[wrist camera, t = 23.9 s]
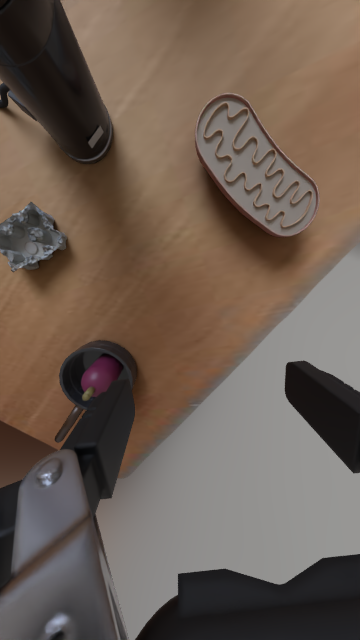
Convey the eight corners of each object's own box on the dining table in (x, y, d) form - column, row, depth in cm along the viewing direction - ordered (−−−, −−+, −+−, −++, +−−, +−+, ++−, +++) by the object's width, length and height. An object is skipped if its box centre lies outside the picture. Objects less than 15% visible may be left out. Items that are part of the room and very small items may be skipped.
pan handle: (64, 438, 40) (59, 445, 39) (56, 434, 40) (51, 442, 38) (88, 401, 38) (84, 407, 37) (81, 397, 38) (76, 403, 36)
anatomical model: (308, 212, 32) (331, 201, 27) (268, 255, 34) (283, 252, 29) (218, 108, 28) (226, 74, 24) (178, 163, 30) (178, 141, 25)
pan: (61, 377, 39) (46, 389, 35) (91, 327, 37) (80, 333, 32) (116, 407, 41) (109, 423, 37) (149, 362, 39) (146, 373, 34)
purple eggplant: (90, 362, 38) (57, 394, 27) (112, 348, 37) (86, 376, 27) (107, 381, 39) (82, 420, 29) (128, 368, 39) (110, 403, 28)
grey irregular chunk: (29, 275, 34) (10, 274, 30) (2, 238, 32) (-22, 232, 28) (74, 246, 33) (60, 242, 29) (48, 206, 31) (30, 196, 27)
